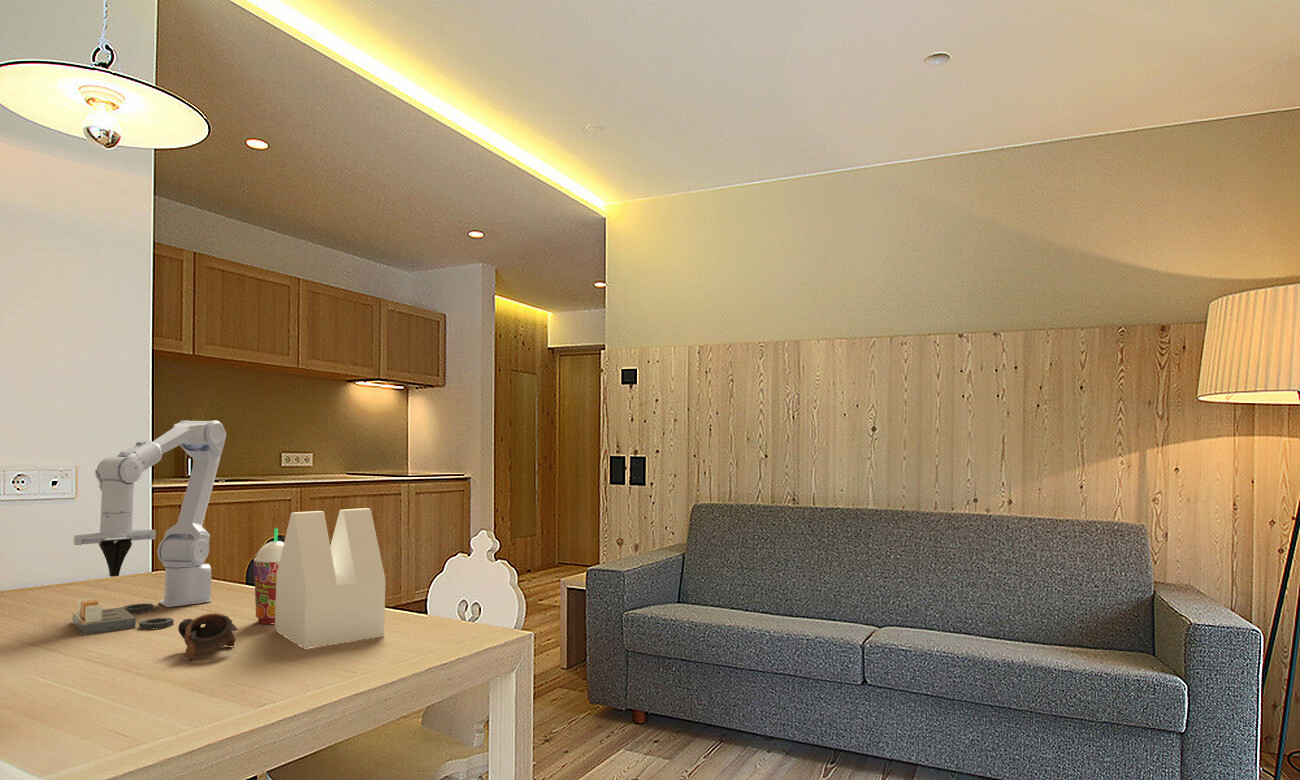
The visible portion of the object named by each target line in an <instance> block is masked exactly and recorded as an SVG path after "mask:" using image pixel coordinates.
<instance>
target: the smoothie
mask: <svg viewBox="0 0 1300 780" xmlns="http://www.w3.org/2000/svg"><path fill="white" fill-rule="evenodd" d="M278 532H279V528H274V532H273V533H274V535H273V541H269V542H268V543H267V542H266V544H264V545H263V546H261V548H259V549H258V551H257V553H256V556H255V557H254V558H253V561H254V562H253V566H254V568H253V569H254V570H253V571H254V600H255V618H256V619H257V620H258V623H259V624H261V623H263V624H262V625H272V624H271V623H275V610H276V578H277V571H278V567H279V562H280V558H281V554H282V550H283V545H284V541H280V540H278V535H279V533H278Z"/></svg>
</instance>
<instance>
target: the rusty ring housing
mask: <svg viewBox="0 0 1300 780" xmlns="http://www.w3.org/2000/svg"><path fill="white" fill-rule="evenodd" d="M203 625H204V626H203ZM201 626H202V627H201ZM177 629H178V632H179V634H180V636H181V637H182V639H183V640H184V643H185V645H186V649H185V652H184V656H185V658H186V659H188V660H189V659H193V658H195V656H196V657H197V656H199V655H200V656H201V655H204V654H208V653H210V652H215V651H218V650H219V648H222V647H225V646H227V647H229V646H234V647H235V642H236V638H235V635H234V631H238V627H237V626H236V625H235V624H234V623H233V621H232V619H231V618H230V617H229V616H227V615H224V614H223V613H217V612H216V613H211V612H210V613H206V614H202V615H200V616H197V617H195V618H186V619H183V620H182V621H181V622H180V623H179V624H178V628H177ZM193 660H194V659H193Z"/></svg>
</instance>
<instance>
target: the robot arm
mask: <svg viewBox="0 0 1300 780" xmlns="http://www.w3.org/2000/svg"><path fill="white" fill-rule="evenodd" d="M224 427H225V426H224V425H223V423H222V422H221V421H219V420H186V419H185V420H180V421H179V422H178V423H174V424H173V427H172V428H171V429H170V430H168V431H166V432H165V433H163V434H161V435H160V436H158V437H157V438H155V439H154V440H153V441H151V440H137V441H136V442H135V445H134V446H132V447H130V448H127V449H126V450H121V451H120V452H119V454H117V455H116V456H107V457H105V458H104V459H102V460H101V461H100V462H99V463H98V465H97V467H96V469H95V470H94V474H95V475H94V476H95V478H96V479H97V481H98V484H99V486H98V487H99V488H98V489H100V491H101V498H100V499H101V500H100V502H101V503H100V524H99V532H95V533H85V534H74V535H73V545H74V546H81V545H89V544H90V545H93V544H98V546H99V548H100V549H101V551H102V554H103V555H104V558H105V561H106V564H107V567H108V573H109V574H108V575H109V576H110V577H111V578H113V577H120V572H121V568H122V565H123V563H124V561H125V559H126V556H127V554H128V552H129V551H130V549H131V548H132V545H133V542H132V541H141V540H156V536H157V535H156V534H157V530H155V529H144V530H143V529H139V530H133V515H134V513H133V509H134V490H135V489H134V486H135V482H138V481H139V479H140V477H141V475H142V473H143V472H145V471H146V470H148V469H150V468H151V467H153V466H155V465H156V464H157V463H159V462H160V461H161V460H162V457H163V454H165V453H167V452H169V451H172V449H173V450H174V449H175V448H177V447H178V446H180V447H181V448H182V449H183V451H184V452H185V453H186V454H187V455H188V456H190V458H192V459H193V465H192V469H191V472H190V476H189V479H188V484H187V487H186V490H185V493H184V497H183V502H182V505H181V508H180V512H179V515H178V519H177V523H176V524H174V525H173V526H171V527H170V528H168V529H167V530H165V534H164V536H163V538H162V540H161V541H160V542H159V544H158V547H157V551H156V552H157V553H156V554H157V558H158V560H159V561H160V562H161V563H162V567H165V568H164V569H165V570H164V571H165V572H164V595H163V596H164V597H163V599H159V600H158V602H159V603H160V604H161V605H162V606H164V607H166V608H173V607H180V606H187V605H194V604H195V605H197V604H205V603H210V602H212V599H211V598H212V567H211V565H210V564H209V563H205V561H206V560H207V558H208V556H209V554H210V538H211V534H210V533H209V532H208V531H207V530H206V529H205V528H204V527H203V525H204V520H205V516H206V513H207V509H208V506H209V502H210V499H211V495H212V491H213V487H214V483H215V480H216V477H217V471H218V468H219V464H220V461H221V456H222V454H223V449H224V446H225V443H226V437H227V432H226V429H225V428H224ZM204 602H205V603H204Z"/></svg>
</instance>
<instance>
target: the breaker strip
mask: <svg viewBox="0 0 1300 780" xmlns="http://www.w3.org/2000/svg"><path fill="white" fill-rule="evenodd" d="M88 600H95V599H94V598H93V597H88V598H86V597H85V598H79V599H78V604H77V605H78V609H77V612H73V613H72V622H73V623H72V625H74V627H75V626H76V627H77V628H78V629H77V628H76V629H77V630H78V632H81V633H82V634H81V633H80V634H81V635H82V636H85V635H84V634H87V635H92V634H91V633H94V634H100V633H99V632H101V633H106V631H108V632H113V631H112V630H115V631H121V630H120V629H123V630H127V628H130V629H135V628H136V622H137V620H136V619H137V617H135V616H134V614H130V613H129V612H128V611H127V610H126V609H124V608H123V607H124V606H122V607H120V606H119V607H113V608H104V609H103V606H102V605H101V604H100V603H98V605H91V606H85V618H83V617H82V616H81V608H82V601H88ZM134 627H135V628H134Z"/></svg>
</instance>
